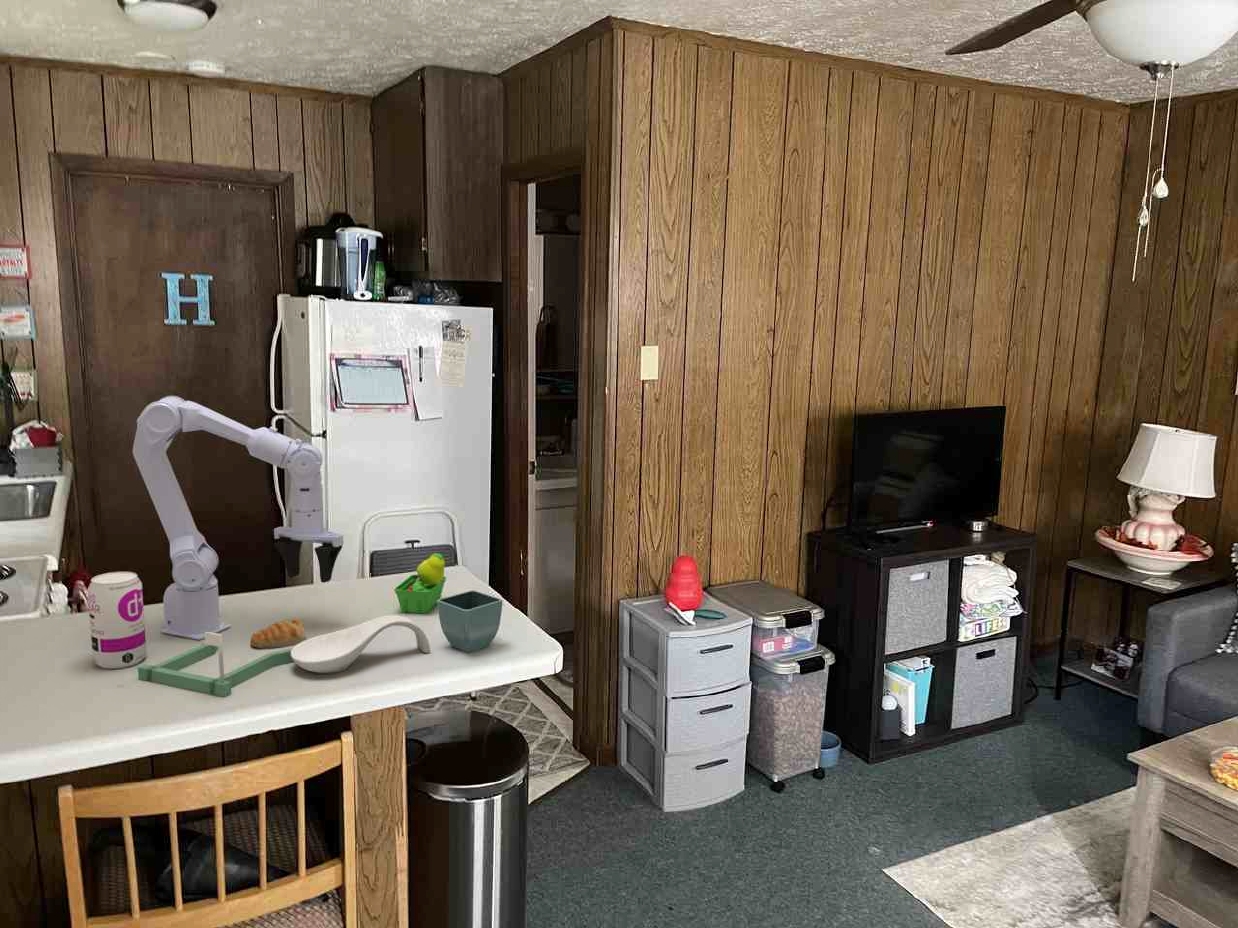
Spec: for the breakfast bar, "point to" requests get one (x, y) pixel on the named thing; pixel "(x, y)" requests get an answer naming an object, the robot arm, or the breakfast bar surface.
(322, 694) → the breakfast bar surface
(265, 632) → the pastry
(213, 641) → the green bars
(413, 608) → the fruit basket
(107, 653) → the supplement can
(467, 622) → the flower pot
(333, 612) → the breakfast bar surface
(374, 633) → the spoon rest
